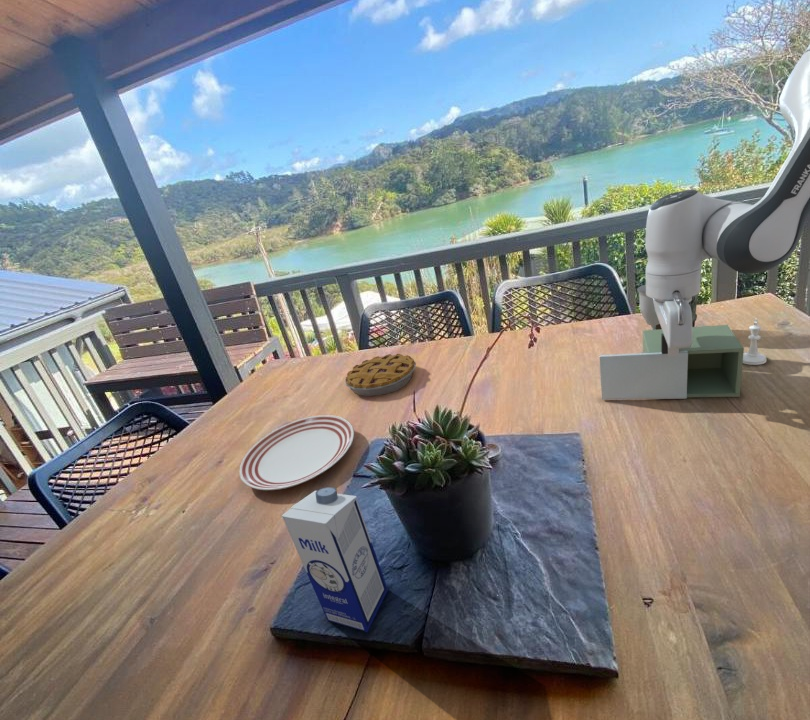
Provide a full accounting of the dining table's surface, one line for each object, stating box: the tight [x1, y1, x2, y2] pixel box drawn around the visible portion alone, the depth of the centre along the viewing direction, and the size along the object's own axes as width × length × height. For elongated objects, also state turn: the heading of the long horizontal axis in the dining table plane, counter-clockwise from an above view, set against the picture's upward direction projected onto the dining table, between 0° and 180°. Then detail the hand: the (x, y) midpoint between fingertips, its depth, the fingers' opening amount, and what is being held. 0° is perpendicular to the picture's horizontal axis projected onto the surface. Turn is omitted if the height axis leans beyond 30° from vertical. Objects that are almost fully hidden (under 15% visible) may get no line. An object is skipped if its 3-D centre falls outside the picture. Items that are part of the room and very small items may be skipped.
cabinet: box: [642, 324, 745, 398], centre depth 93 cm, size 12×16×11 cm
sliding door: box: [598, 334, 688, 401], centre depth 91 cm, size 1×16×15 cm, turn 69°
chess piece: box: [743, 318, 768, 366], centre depth 96 cm, size 5×5×10 cm
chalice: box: [636, 284, 660, 330], centre depth 105 cm, size 7×7×18 cm
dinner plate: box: [239, 414, 355, 491], centre depth 103 cm, size 27×27×3 cm
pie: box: [344, 353, 417, 397], centre depth 132 cm, size 22×22×5 cm
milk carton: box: [281, 486, 389, 633], centre depth 60 cm, size 7×7×20 cm
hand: (671, 350), depth 87 cm, fingers open, 3 cm apart
